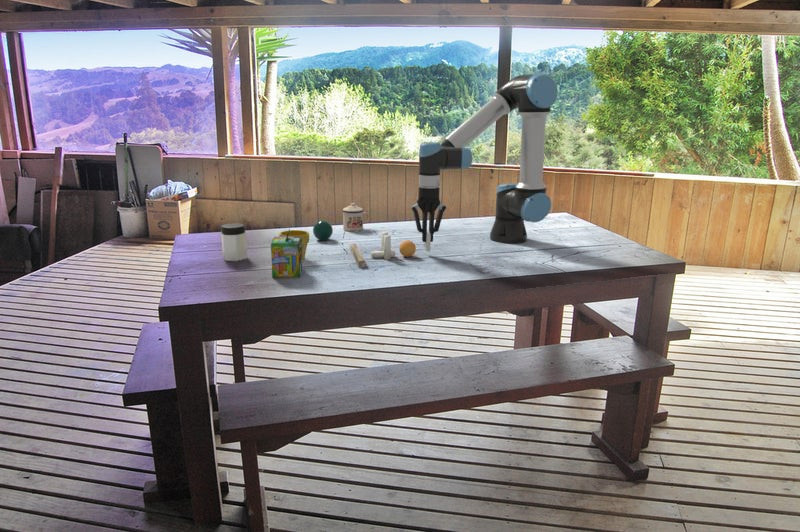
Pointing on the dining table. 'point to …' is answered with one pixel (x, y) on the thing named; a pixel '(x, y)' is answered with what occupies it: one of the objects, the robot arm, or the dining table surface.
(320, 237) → the sphere
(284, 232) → the plant pot
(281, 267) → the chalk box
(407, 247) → the ball
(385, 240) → the pin
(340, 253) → the dining table surface
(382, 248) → the pin
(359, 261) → the brown wooden bar
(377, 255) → the front pin
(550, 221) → the dining table surface
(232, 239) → the jar
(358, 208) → the teacup with lid
